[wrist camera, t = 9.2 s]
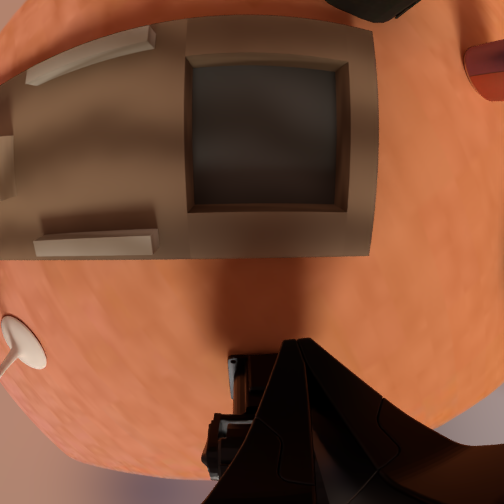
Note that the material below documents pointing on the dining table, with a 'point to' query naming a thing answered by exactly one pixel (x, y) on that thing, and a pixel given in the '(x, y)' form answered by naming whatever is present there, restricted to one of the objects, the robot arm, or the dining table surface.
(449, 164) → the dining table surface
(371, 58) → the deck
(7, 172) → the block
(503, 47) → the beverage can
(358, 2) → the sushi
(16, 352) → the wineglass
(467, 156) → the dining table surface
